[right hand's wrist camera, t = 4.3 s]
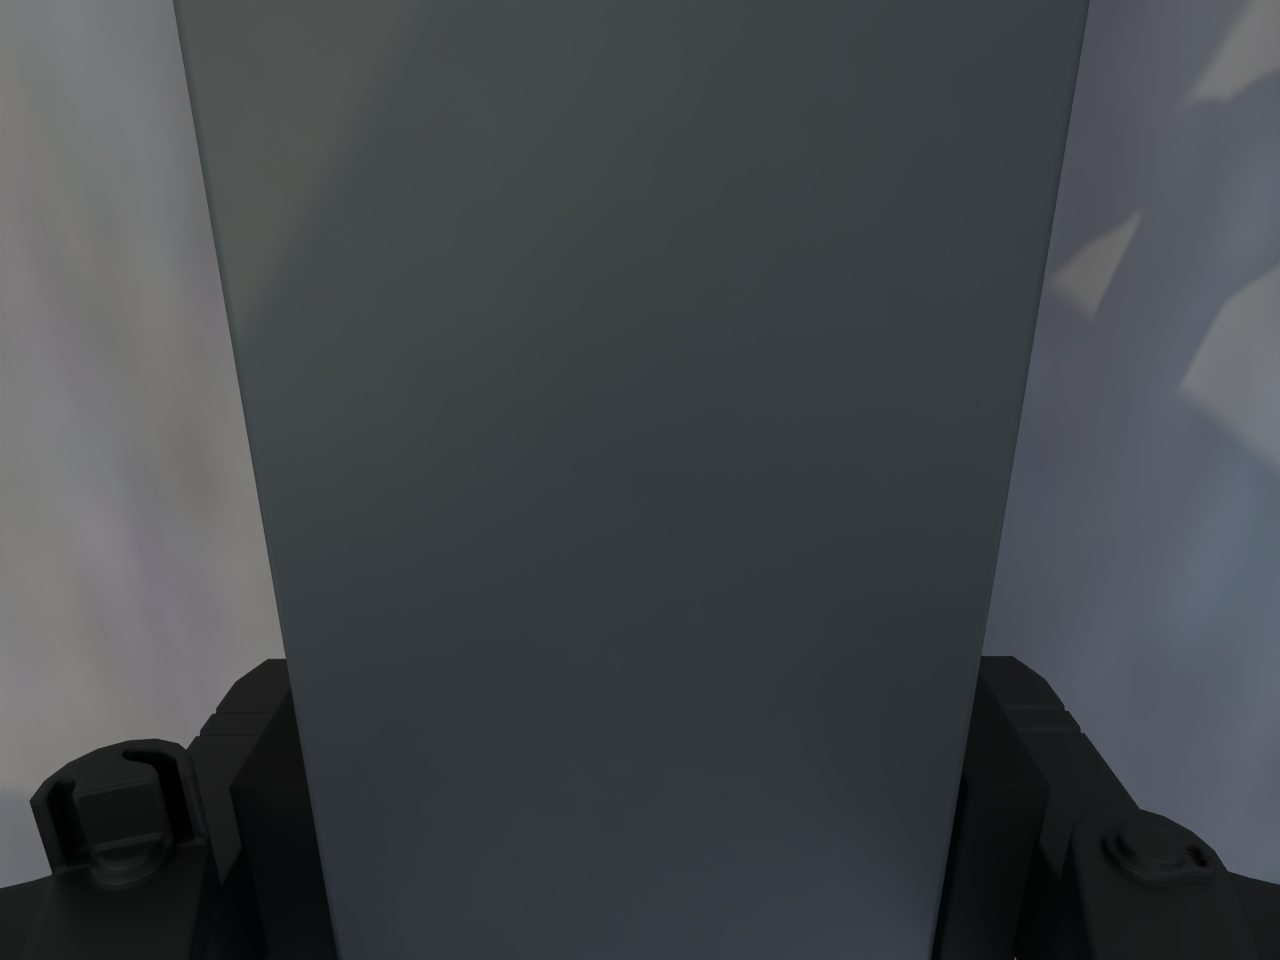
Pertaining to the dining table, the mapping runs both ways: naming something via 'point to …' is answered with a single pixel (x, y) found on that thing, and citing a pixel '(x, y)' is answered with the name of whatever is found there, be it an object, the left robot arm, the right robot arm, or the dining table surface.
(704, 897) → the bar
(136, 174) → the dining table surface
